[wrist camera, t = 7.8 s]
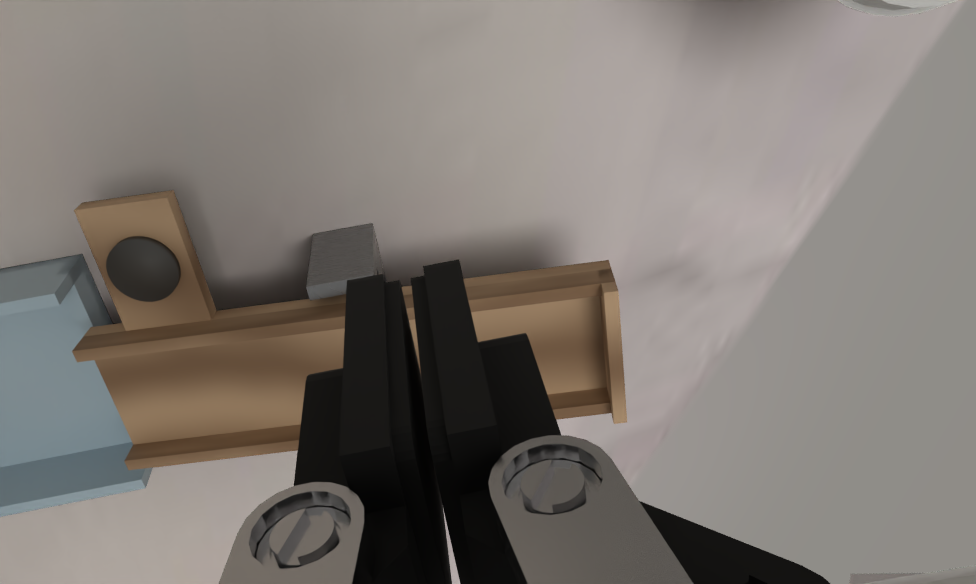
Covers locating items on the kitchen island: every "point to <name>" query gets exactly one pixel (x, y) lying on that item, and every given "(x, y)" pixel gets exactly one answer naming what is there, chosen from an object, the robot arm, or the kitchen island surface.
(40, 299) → the dish
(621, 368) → the lever
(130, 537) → the kitchen island surface
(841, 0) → the disposable coffee cup
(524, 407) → the robot arm
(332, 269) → the grey arch block
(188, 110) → the kitchen island surface
